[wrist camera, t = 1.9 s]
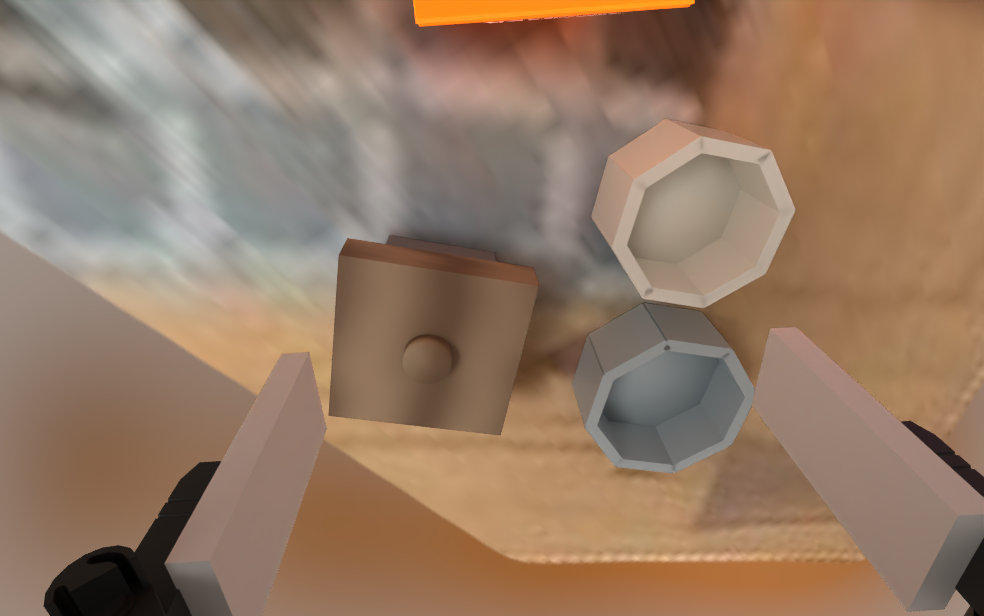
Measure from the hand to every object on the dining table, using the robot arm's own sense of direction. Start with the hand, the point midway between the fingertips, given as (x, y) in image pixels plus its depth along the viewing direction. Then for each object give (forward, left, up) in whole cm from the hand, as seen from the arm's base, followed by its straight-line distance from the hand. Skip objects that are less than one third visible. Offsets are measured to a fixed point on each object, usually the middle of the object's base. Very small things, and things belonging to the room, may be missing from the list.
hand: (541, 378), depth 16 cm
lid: (-3, -9, -17) cm, 19 cm away
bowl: (+11, +1, -21) cm, 23 cm away
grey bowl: (+14, -12, -21) cm, 28 cm away
